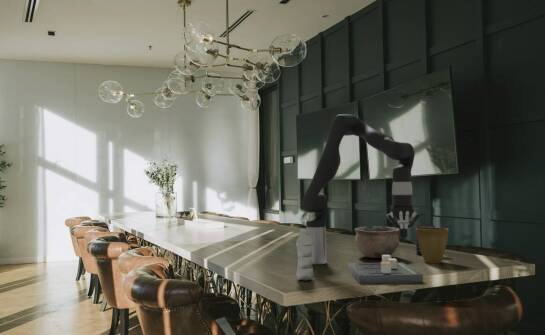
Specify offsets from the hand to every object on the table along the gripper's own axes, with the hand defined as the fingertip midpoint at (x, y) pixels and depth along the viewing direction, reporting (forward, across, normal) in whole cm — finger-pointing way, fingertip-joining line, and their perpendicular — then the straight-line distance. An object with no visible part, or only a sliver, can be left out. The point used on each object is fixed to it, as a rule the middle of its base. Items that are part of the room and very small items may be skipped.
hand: (403, 238), depth 185 cm
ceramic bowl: (+16, +2, +57) cm, 59 cm away
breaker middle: (+13, -2, +10) cm, 16 cm away
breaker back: (+13, -2, +20) cm, 24 cm away
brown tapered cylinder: (+16, +29, +65) cm, 73 cm away
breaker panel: (+16, -6, +10) cm, 20 cm away
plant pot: (+16, +25, +42) cm, 52 cm away
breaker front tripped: (+13, -7, 0) cm, 15 cm away
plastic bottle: (+16, -38, +3) cm, 42 cm away
